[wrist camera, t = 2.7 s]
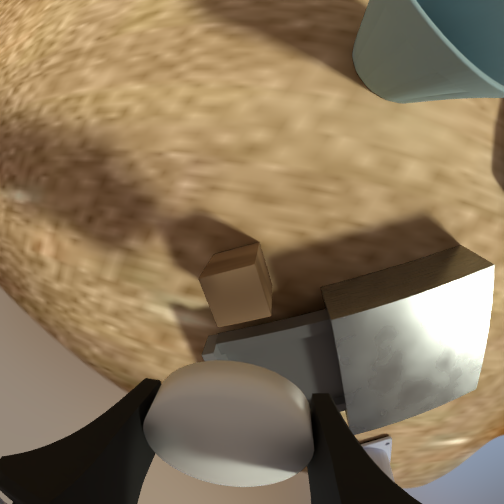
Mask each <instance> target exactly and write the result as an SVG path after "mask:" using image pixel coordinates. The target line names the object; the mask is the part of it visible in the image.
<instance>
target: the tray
mask: <svg viewBox="0 0 504 504" xmlns="http://www.w3.org/2000/svg"><path fill="white" fill-rule="evenodd" d="M202 357H203V359H204V361H215V360H224V361H236V362H244V363H248V364H253V365H256V366H260V367H263V368H266V369H268V370H271V371H273V372H276V373H278V374H279V375H281V376H283V377H285V378H286V379H288V380H289V381H291V382H292V383H293V384H295V385H296V386H297V387H298V388H299V389H300V390H301V391H302V393H303V394H304V395H305V397H306V399H307V400H308V402H309V406H310V402H311V397H312V393H329V394H330V395H331V396H332V399H333V401H334V403H335V404H336V406H337V408H338V410H339V412H341V411H345V410H346V404H345V398H344V392H343V386H342V380H341V374H340V368H339V362H338V357H337V351H336V346H335V341H334V336H333V331H332V326H331V322H330V319H329V316H328V312H327V309H324V310H320V311H316V312H312V313H308V314H304V315H300V316H296V317H292V318H288V319H283V320H279V321H275V322H270V323H266V324H261V325H257V326H252V327H247V328H243V329H238V330H233V331H228V332H223V333H218V334H216V335H211V336H208V339H207V342H206V344H205V347H204V350H203V352H202Z"/></svg>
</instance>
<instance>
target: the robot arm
mask: <svg viewBox="0 0 504 504" xmlns="http://www.w3.org/2000/svg"><path fill="white" fill-rule="evenodd" d="M160 386H161V381H159V380H154V379H148V378H146V379H144V380H143V381H142V382H141V383H140V384H138V385H137V386H136V387H135V388H134V389H133V390H132V391H130V392H129V393H128V394H127V395H126V396H125V397H123V398H122V399H121V400H120V401H119V402H117V403H116V404H115V405H114V406H113V407H111V408H110V409H109V410H108V411H106V412H105V413H104V414H102V415H101V416H99V417H98V418H97V419H95V420H94V421H92V422H91V423H90V424H88V425H86V426H85V427H83V428H82V429H80V430H78V431H77V432H75V433H73V434H71V435H69V436H67V437H65V438H63V439H61V440H58V441H56V442H54V443H52V444H49V445H47V446H44V447H41V448H38V449H35V450H32V451H28V452H24V453H19V454H14V455H9V456H2V457H1V459H0V491H2V492H3V493H4V494H5V495H6V496H7V497H8V498H9V499H11V500H12V501H13V503H12V504H137V503H138V498H139V495H140V491H141V488H142V484H143V482H144V479H145V476H146V474H147V472H148V469H149V467H150V464H151V462H152V460H153V458H154V455H155V452H154V451H153V450H152V448H151V447H150V445H149V444H148V442H147V440H146V438H145V435H144V430H143V425H144V420H145V418H146V416H147V413H148V411H149V409H150V407H151V405H152V403H153V401H154V399H155V397H156V395H157V393H158V391H159V389H160ZM310 409H311V420H312V431H313V442H314V453H313V456H312V459H311V461H310V462H309V463H308V465H307V468H308V476H309V484H310V492H311V504H422V503H420V502H419V501H417V500H416V499H414V498H413V497H412V496H410V495H409V494H408V493H407V492H405V491H404V490H403V489H402V488H401V487H399V486H398V485H397V484H396V483H395V481H394V477H393V474H392V470H391V466H390V457H391V447H392V438H391V437H390V436H388V437H384V438H381V439H378V440H374V441H371V442H367V443H364V444H360V443H359V442H358V440H357V439H356V438H355V436H354V435H353V433H352V431H351V430H350V428H349V427H348V425H347V424H346V422H345V421H344V419H343V417H342V415H341V414H340V412H339V410H338V408H337V406H336V404H335V403H334V401H333V399H332V396H331V395H330V394H329V393H312V397H311V402H310ZM0 504H7V503H5V502H4V501H3V500H2V499H1V498H0Z"/></svg>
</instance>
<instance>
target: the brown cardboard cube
mask: <svg viewBox="0 0 504 504" xmlns="http://www.w3.org/2000/svg"><path fill="white" fill-rule="evenodd" d="M199 281H200V284H201V287H202V289H203V292H204V294H205V297H206V299H207V302H208V304H209V307H210V309H211V312H212V314H213V317H214V319H215V322H216V324H217V327H223V326H228V325H233V324H238V323H243V322H247V321H252V320H257V319H261V318H265V317H270V316H271V310H272V282H271V279H270V276H269V272H268V269H267V266H266V263H265V259H264V256H263V253H262V249H261V246H260V243H259V242H258V243H254V244H250V245H246V246H243V247H239V248H235V249H232V250H228V251H224V252H221V253H217V254H214V255H213V256H212V258H211V260H210V261H209V263H208V264H207V266H206V268H205V269H204V271H203V272H202V274H201V275H200V277H199Z"/></svg>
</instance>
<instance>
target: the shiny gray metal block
mask: <svg viewBox="0 0 504 504" xmlns="http://www.w3.org/2000/svg"><path fill="white" fill-rule="evenodd" d="M493 284H494V264H492V263H491V262H489V261H487V260H486V259H484V258H482V257H481V256H479V255H477V254H476V253H474V252H472V251H470V250H469V249H467V248H465V247H463V246H462V245H460V246H457V247H454V248H451V249H448V250H445V251H442V252H439V253H436V254H433V255H430V256H427V257H424V258H421V259H417V260H414V261H411V262H408V263H405V264H401V265H398V266H395V267H391V268H388V269H385V270H381V271H378V272H374V273H371V274H368V275H364V276H361V277H357V278H353V279H350V280H346V281H343V282H339V283H335V284H332V285H328V286H324V287H321V291H322V295H323V300H324V305H325V309H327V312H328V316H329V319H330V322H331V326H332V331H333V336H334V341H335V346H336V351H337V357H338V362H339V368H340V374H341V380H342V386H343V392H344V398H345V404H346V410H345V412H346V417H347V422H348V426H349V428H350V430H351V431H352V433H353V435H356V434H360V433H363V432H367V431H370V430H374V429H377V428H381V427H384V426H387V425H390V424H393V423H396V422H399V421H402V420H405V419H408V418H410V417H413V416H416V415H418V414H421V413H424V412H426V411H429V410H431V409H434V408H436V407H438V406H441V405H443V404H445V403H448V402H450V401H452V400H454V399H456V398H459V397H461V396H463V395H465V394H467V393H469V392H471V391H473V390H475V389H476V387H477V383H478V380H479V376H480V371H481V367H482V363H483V358H484V353H485V348H486V342H487V336H488V330H489V323H490V316H491V307H492V297H493Z"/></svg>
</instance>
